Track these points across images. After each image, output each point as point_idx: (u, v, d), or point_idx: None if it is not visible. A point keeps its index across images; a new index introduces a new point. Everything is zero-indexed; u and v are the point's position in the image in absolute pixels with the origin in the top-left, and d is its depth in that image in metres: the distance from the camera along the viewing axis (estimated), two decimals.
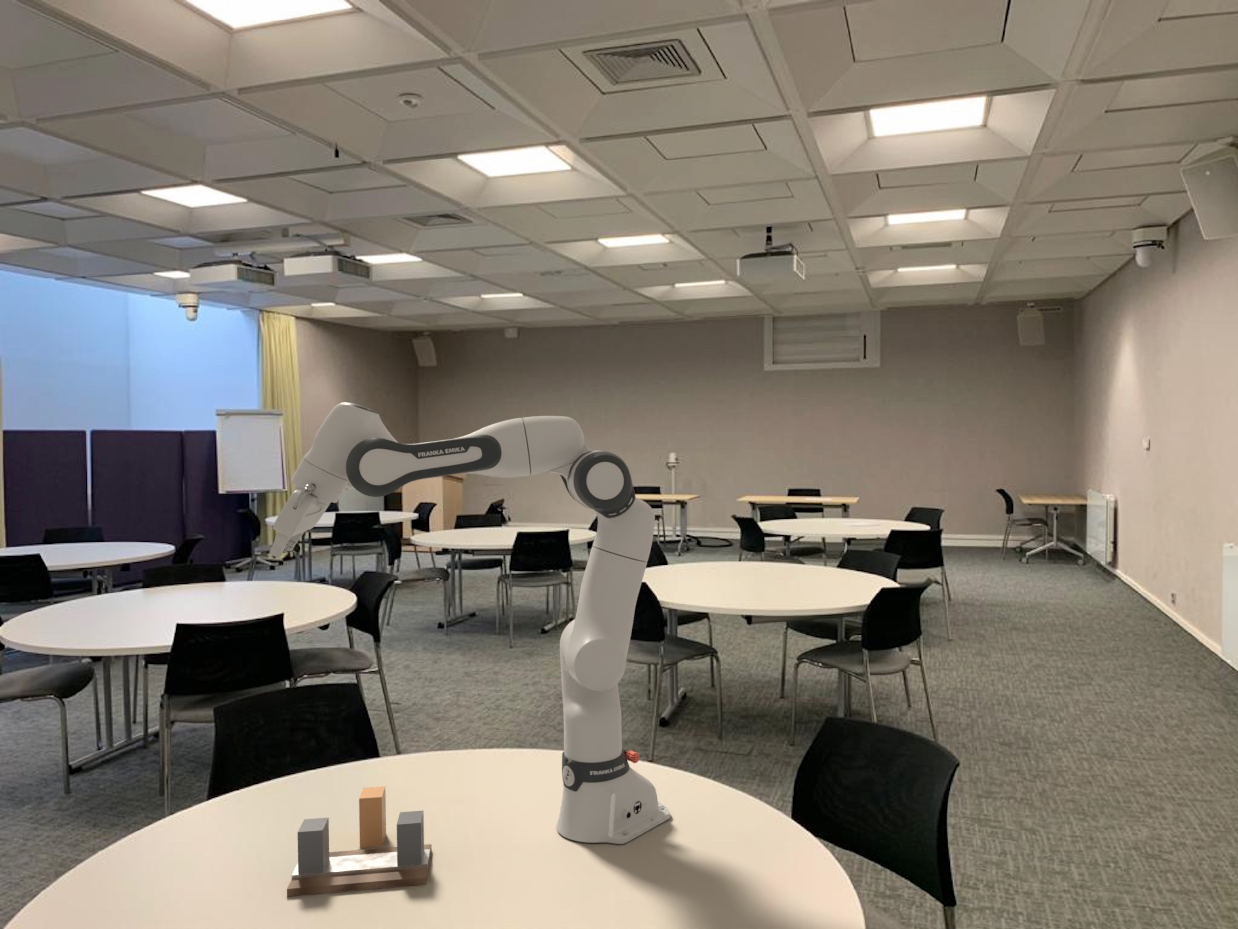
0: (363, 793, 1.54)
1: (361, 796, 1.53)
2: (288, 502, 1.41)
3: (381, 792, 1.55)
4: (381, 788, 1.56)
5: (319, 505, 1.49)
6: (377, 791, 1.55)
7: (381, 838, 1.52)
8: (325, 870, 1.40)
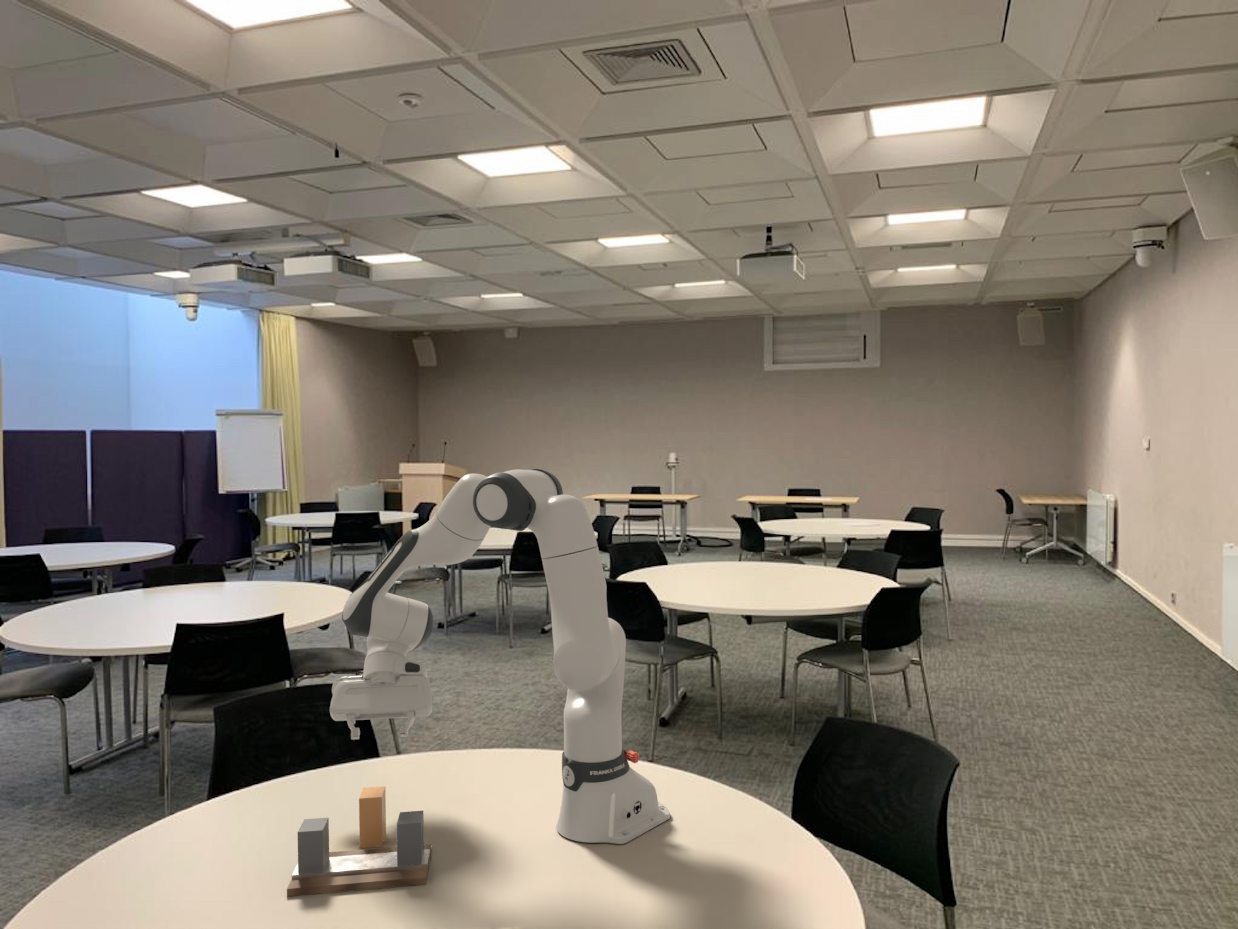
0: (363, 793, 1.54)
1: (361, 796, 1.53)
2: None
3: (381, 792, 1.55)
4: (381, 788, 1.56)
5: (372, 683, 1.72)
6: (377, 791, 1.55)
7: (381, 838, 1.52)
8: (325, 870, 1.40)
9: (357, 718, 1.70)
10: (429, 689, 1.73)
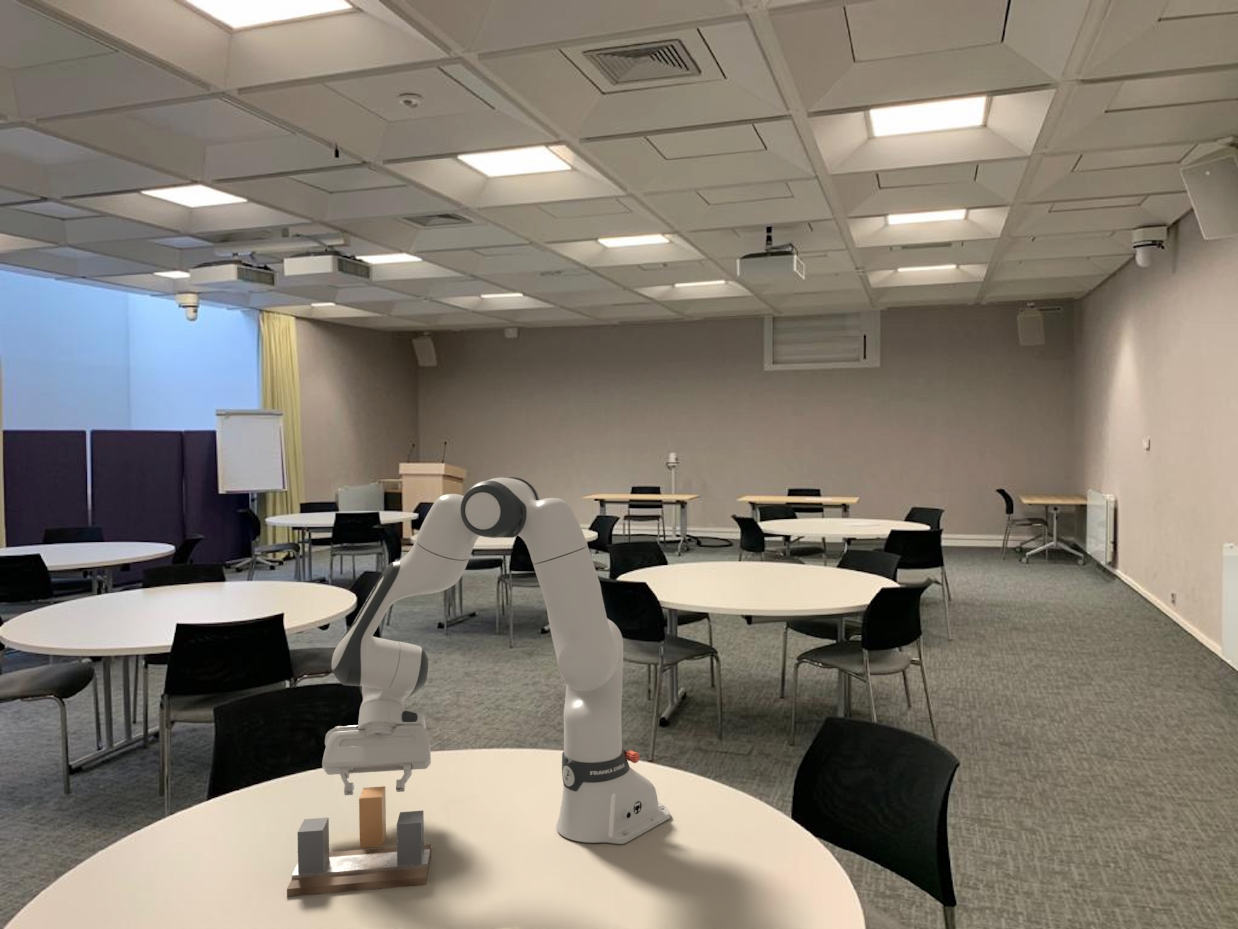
0: (363, 793, 1.54)
1: (361, 796, 1.53)
2: None
3: (381, 792, 1.55)
4: (381, 788, 1.56)
5: (367, 733, 1.63)
6: (377, 791, 1.55)
7: (381, 838, 1.52)
8: (325, 870, 1.40)
9: (351, 771, 1.61)
10: (427, 740, 1.63)
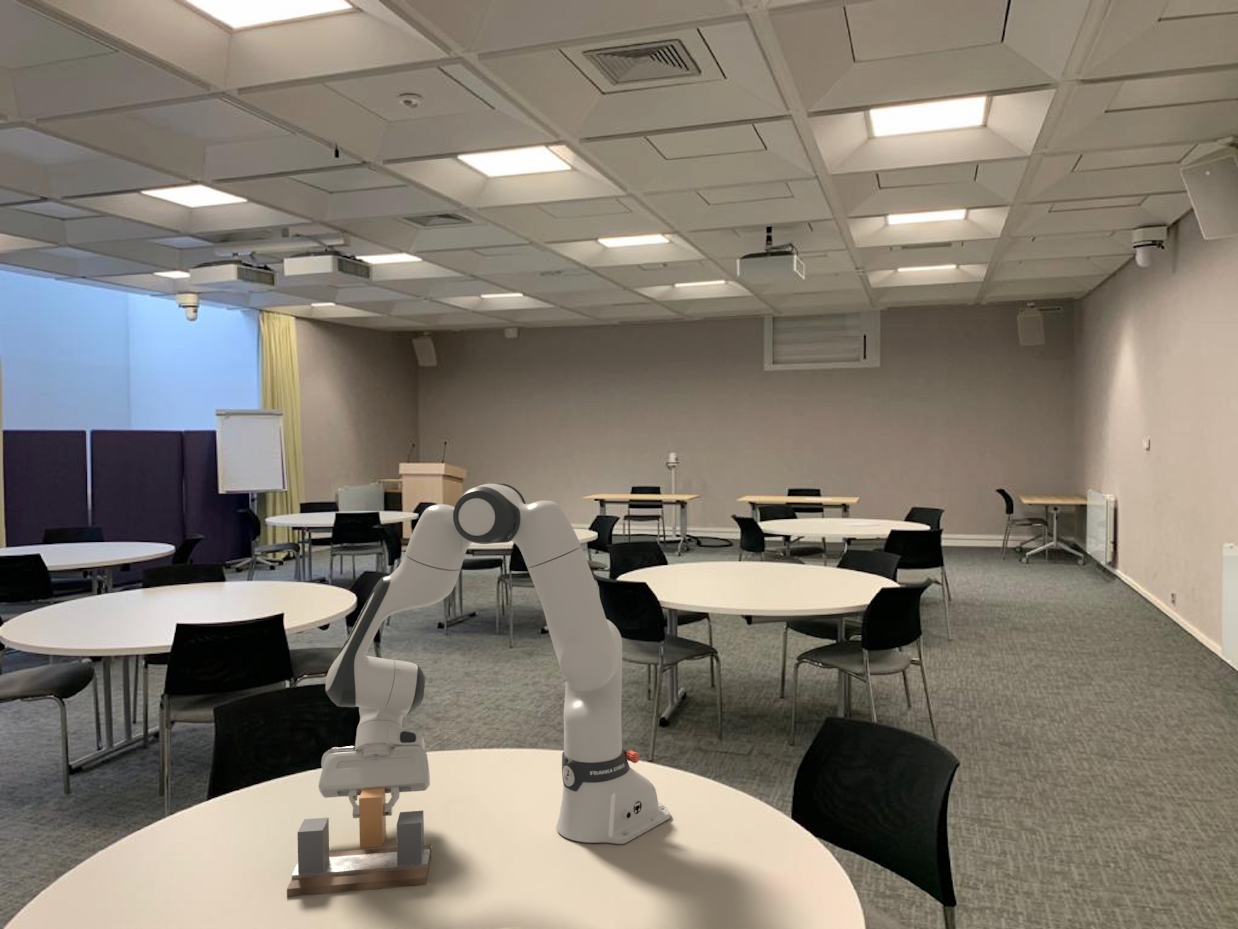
0: (363, 793, 1.54)
1: (361, 796, 1.53)
2: None
3: (381, 791, 1.55)
4: (381, 788, 1.56)
5: (364, 755, 1.59)
6: (377, 791, 1.55)
7: (381, 838, 1.52)
8: (325, 870, 1.40)
9: (348, 794, 1.57)
10: (426, 761, 1.60)
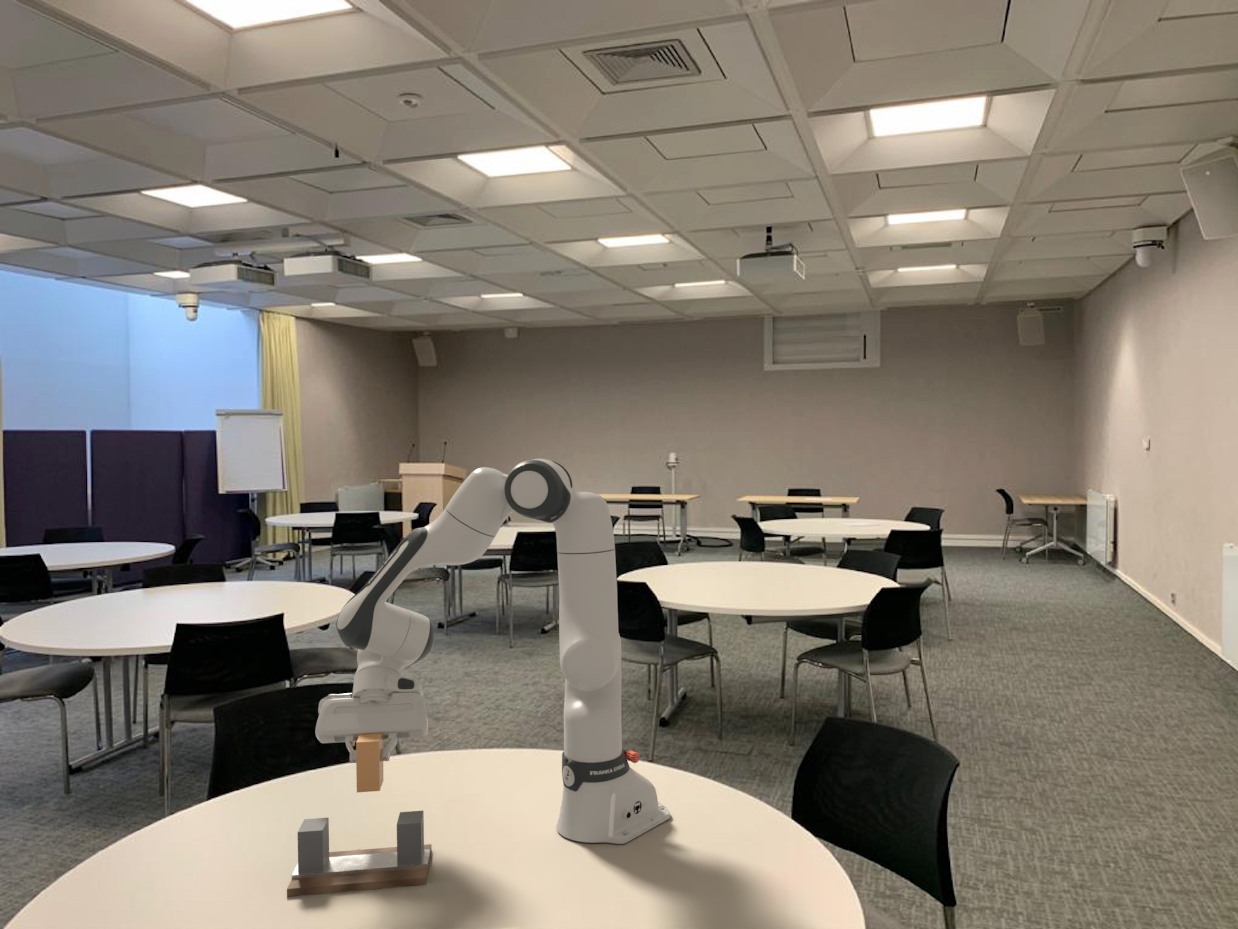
0: (360, 737, 1.52)
1: (358, 740, 1.51)
2: None
3: (378, 736, 1.53)
4: (378, 733, 1.54)
5: (362, 701, 1.57)
6: (374, 736, 1.53)
7: (378, 783, 1.50)
8: (325, 870, 1.40)
9: None
10: (424, 707, 1.58)
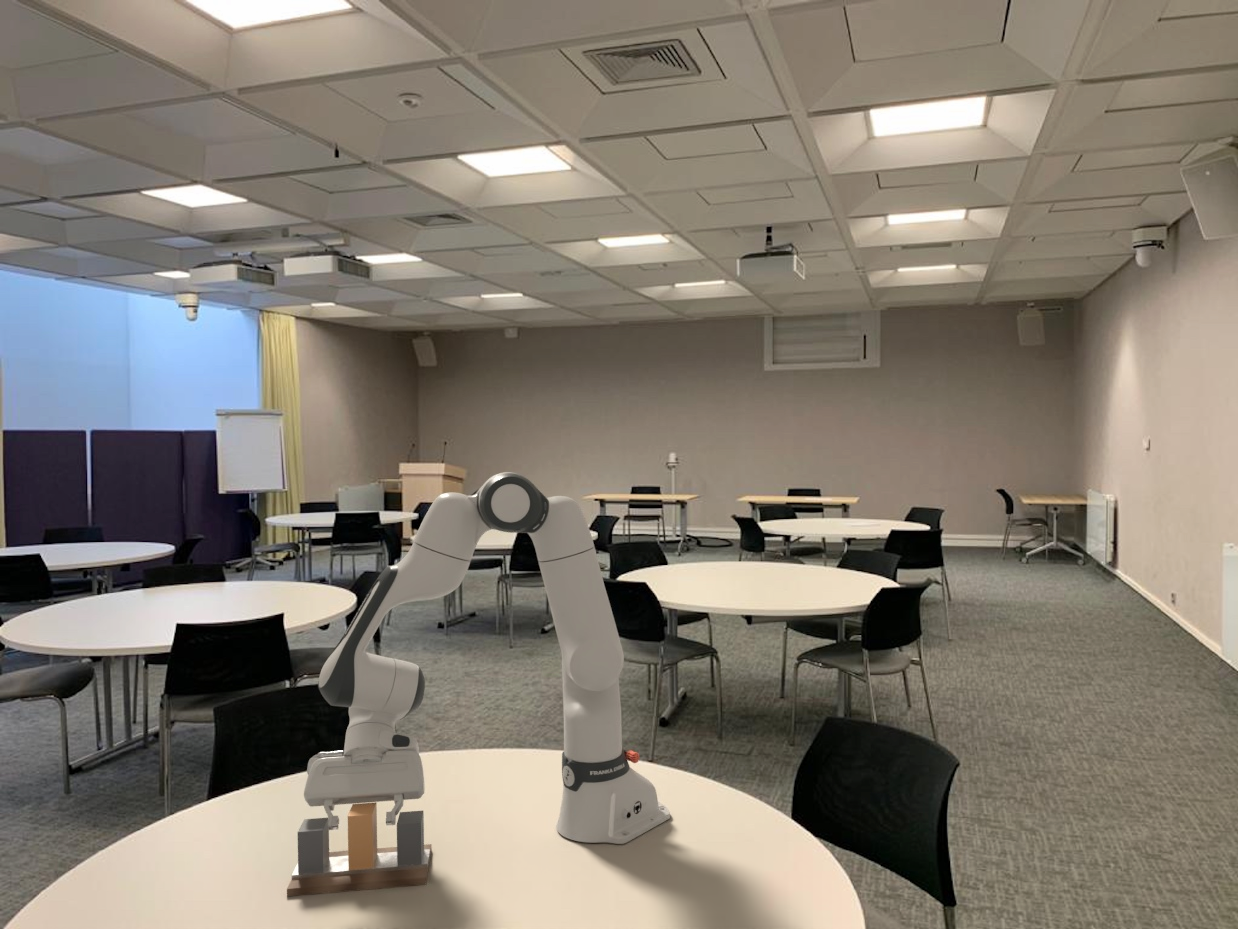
0: (352, 810, 1.42)
1: (350, 814, 1.41)
2: None
3: (371, 808, 1.43)
4: (372, 804, 1.44)
5: (353, 760, 1.48)
6: (367, 808, 1.43)
7: (372, 859, 1.41)
8: (325, 870, 1.40)
9: (336, 803, 1.46)
10: (420, 767, 1.48)
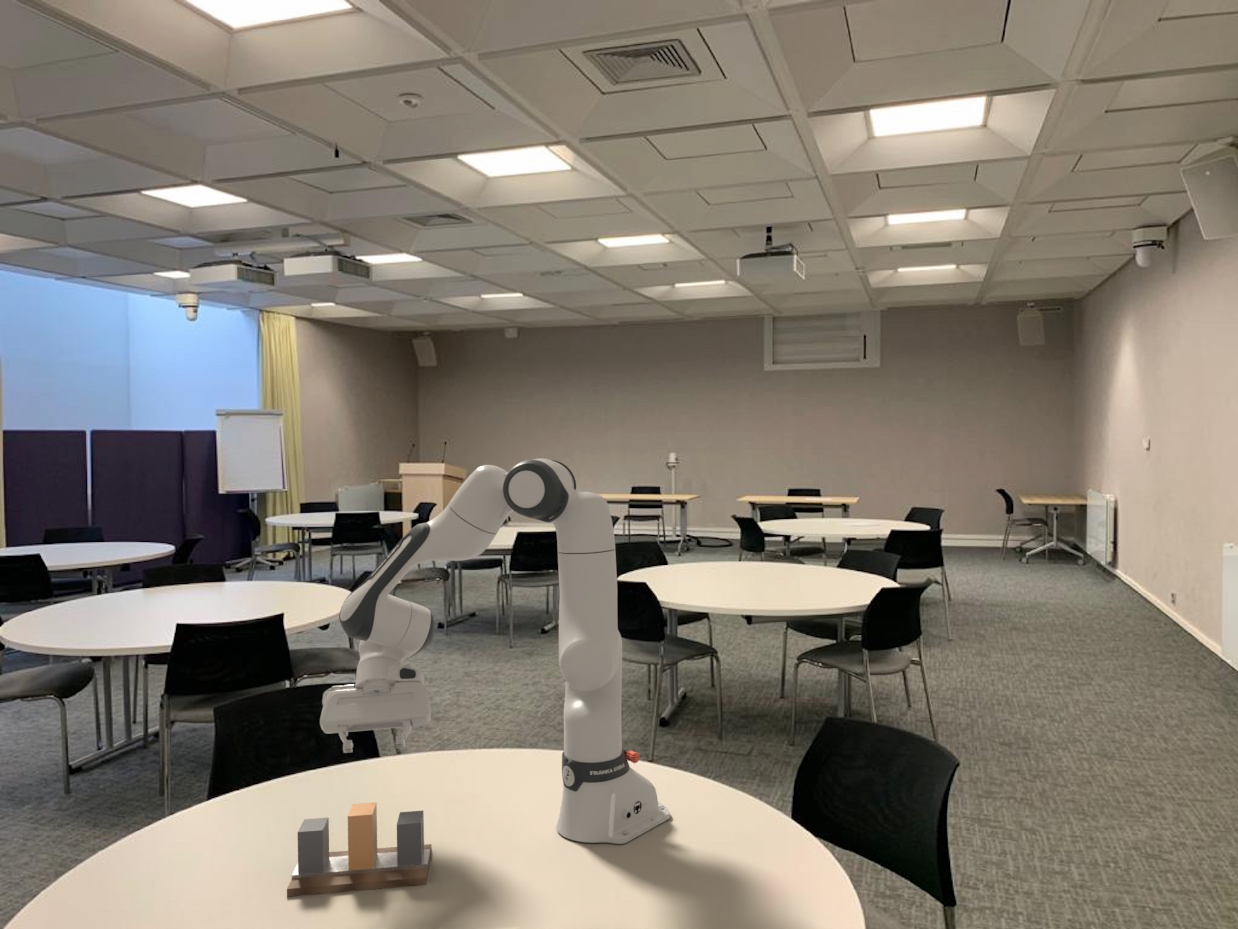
0: (352, 810, 1.42)
1: (350, 814, 1.41)
2: None
3: (371, 808, 1.43)
4: (372, 804, 1.44)
5: (364, 691, 1.60)
6: (367, 808, 1.43)
7: (372, 859, 1.41)
8: (325, 870, 1.40)
9: (350, 730, 1.58)
10: (426, 696, 1.61)
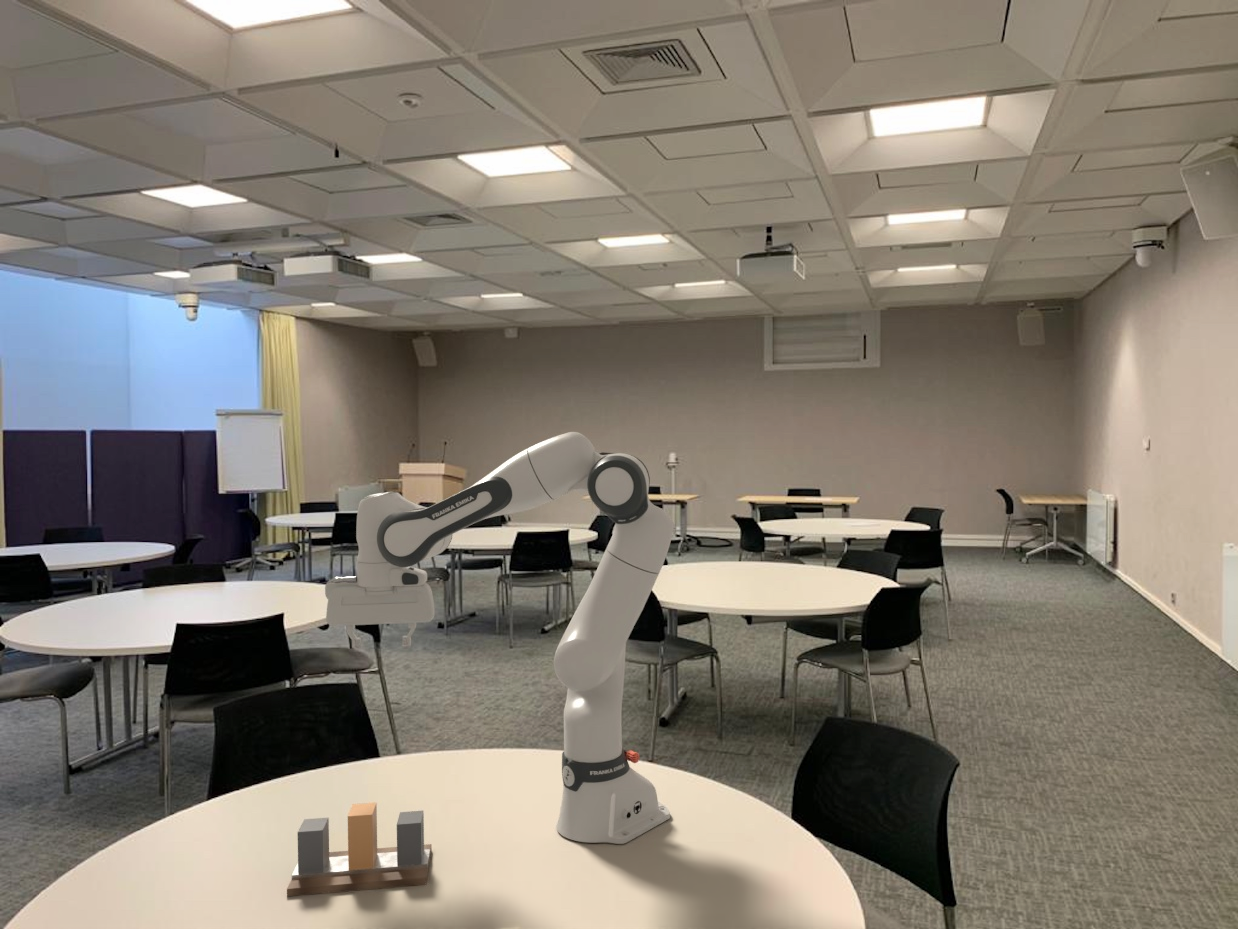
0: (352, 810, 1.42)
1: (350, 814, 1.41)
2: None
3: (371, 808, 1.43)
4: (372, 804, 1.44)
5: (367, 593, 1.60)
6: (367, 808, 1.43)
7: (372, 859, 1.41)
8: (325, 870, 1.40)
9: None
10: (430, 601, 1.62)
